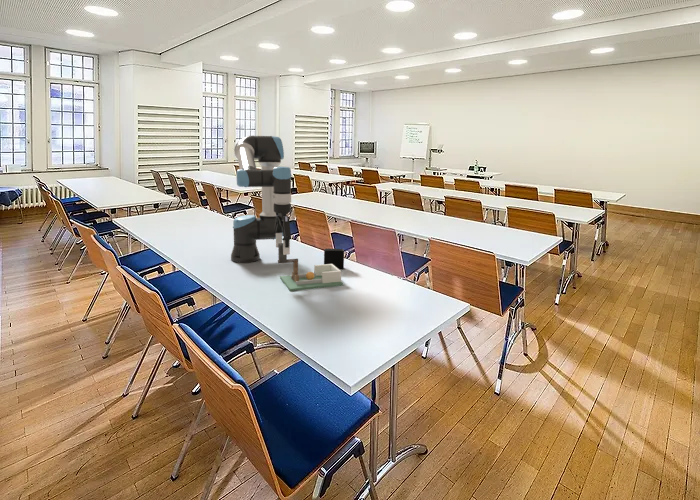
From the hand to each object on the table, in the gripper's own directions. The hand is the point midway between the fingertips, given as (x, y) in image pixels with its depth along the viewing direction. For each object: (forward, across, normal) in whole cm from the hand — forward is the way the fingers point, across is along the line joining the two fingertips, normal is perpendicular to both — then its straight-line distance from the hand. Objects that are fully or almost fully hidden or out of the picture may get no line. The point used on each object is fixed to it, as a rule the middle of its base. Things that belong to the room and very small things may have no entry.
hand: (282, 250), depth 195 cm
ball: (+13, 0, +13) cm, 18 cm away
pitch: (+16, 0, +14) cm, 21 cm away
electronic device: (+16, -18, +31) cm, 39 cm away
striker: (+14, 0, +2) cm, 15 cm away
